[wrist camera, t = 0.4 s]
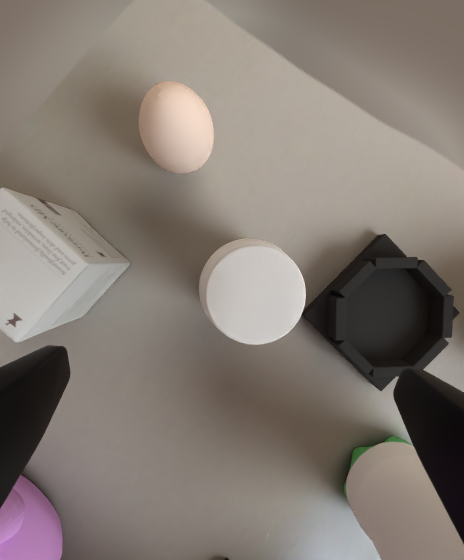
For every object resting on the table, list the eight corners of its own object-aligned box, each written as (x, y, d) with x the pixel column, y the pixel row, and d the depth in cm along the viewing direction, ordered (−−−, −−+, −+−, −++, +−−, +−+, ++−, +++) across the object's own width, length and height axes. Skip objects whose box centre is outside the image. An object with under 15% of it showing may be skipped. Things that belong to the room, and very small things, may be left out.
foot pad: (374, 386, 24) (392, 400, 21) (300, 313, 23) (310, 319, 21) (449, 310, 24) (477, 316, 21) (378, 234, 23) (397, 231, 20)
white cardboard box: (133, 262, 22) (91, 264, 15) (81, 318, 22) (14, 347, 15) (74, 208, 22) (-1, 182, 14) (21, 266, 22) (-79, 269, 14)
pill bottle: (237, 229, 22) (252, 205, 12) (290, 276, 23) (344, 289, 13) (190, 283, 23) (167, 301, 13) (243, 329, 23) (261, 382, 13)
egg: (162, 190, 22) (133, 154, 15) (147, 129, 22) (110, 61, 14) (220, 177, 22) (221, 136, 15) (207, 116, 22) (201, 42, 14)
